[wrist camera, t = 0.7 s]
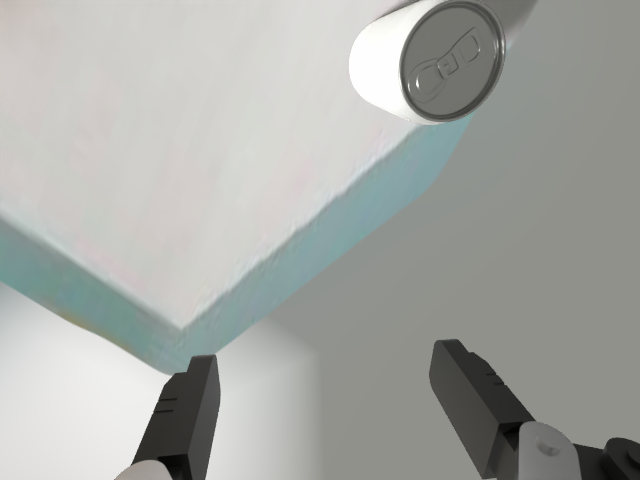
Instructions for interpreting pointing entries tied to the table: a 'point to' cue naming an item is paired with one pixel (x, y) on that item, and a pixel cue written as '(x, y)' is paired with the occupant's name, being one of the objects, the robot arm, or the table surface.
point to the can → (430, 60)
